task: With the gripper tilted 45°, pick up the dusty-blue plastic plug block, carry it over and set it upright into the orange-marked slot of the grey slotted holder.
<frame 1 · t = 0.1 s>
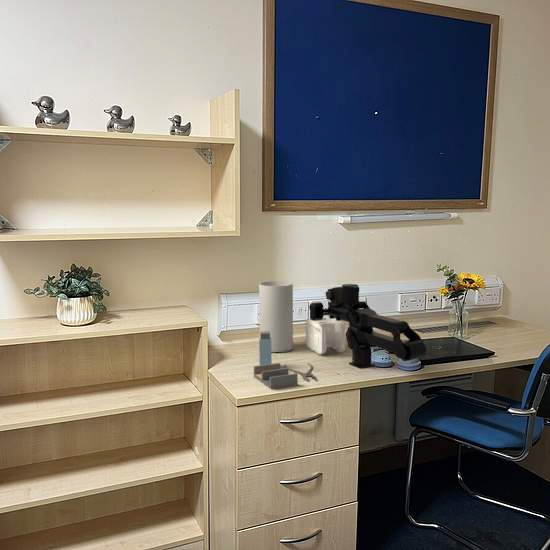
hand: (319, 305, 231), 17 cm above the table, tool horizontal, fingers open, 9 cm apart
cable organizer: (325, 351, 230), on the table
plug: (265, 366, 210), on the table
grey slotted holder: (275, 380, 195), on the table
pliers: (307, 373, 204), on the table
cylinder vase: (276, 349, 234), on the table
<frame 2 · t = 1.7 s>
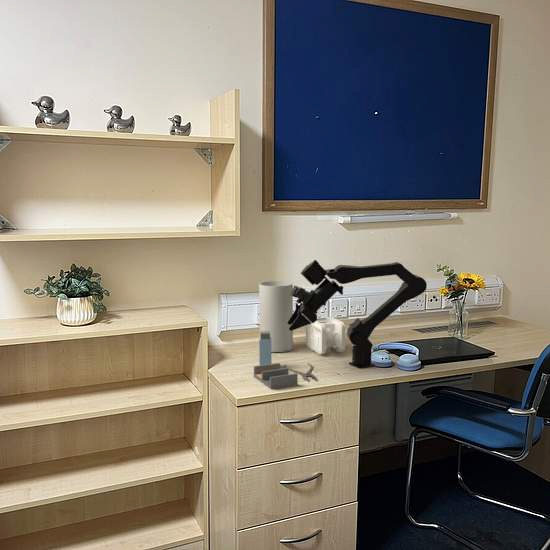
hand: (288, 326, 209), 14 cm above the table, tool tilted 45°, fingers open, 9 cm apart
nothing on the table moved.
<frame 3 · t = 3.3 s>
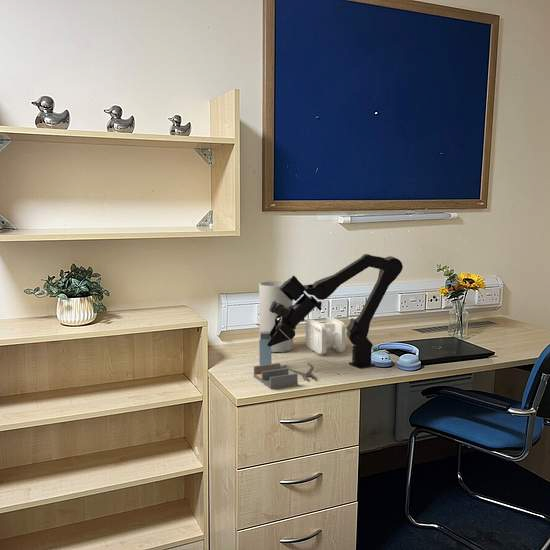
hand: (267, 342, 209), 9 cm above the table, tool tilted 45°, fingers open, 9 cm apart
nothing on the table moved.
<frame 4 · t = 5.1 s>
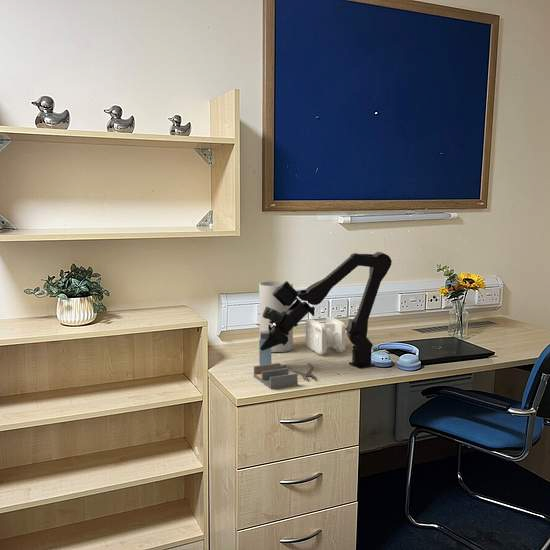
hand: (261, 348, 209), 7 cm above the table, tool tilted 45°, fingers closed on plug, 4 cm apart
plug: (265, 366, 210), on the table, touching gripper
everything else where it was.
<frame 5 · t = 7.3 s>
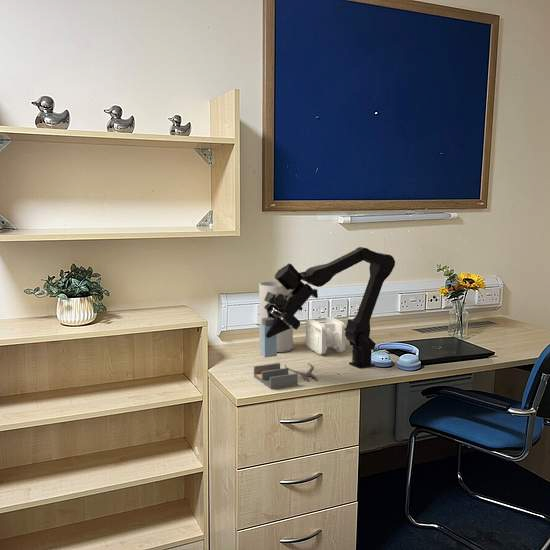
hand: (264, 335, 197), 14 cm above the table, tool tilted 45°, fingers closed on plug, 4 cm apart
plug: (268, 355, 199), point 7 cm above the table, touching gripper
everything else where it was.
when the fingers open (8 cm above the table, at t = 9.4 s): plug stays where it is, resting on grey slotted holder.
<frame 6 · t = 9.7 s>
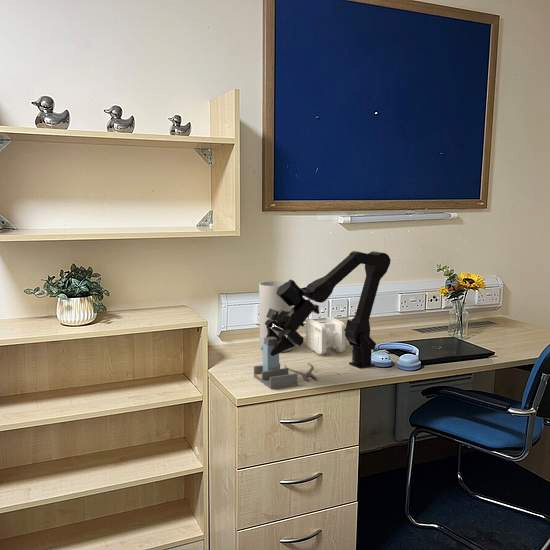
hand: (266, 352, 196), 9 cm above the table, tool tilted 45°, fingers open, 7 cm apart
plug: (270, 374, 197), point 1 cm above the table, touching grey slotted holder
everything else where it was.
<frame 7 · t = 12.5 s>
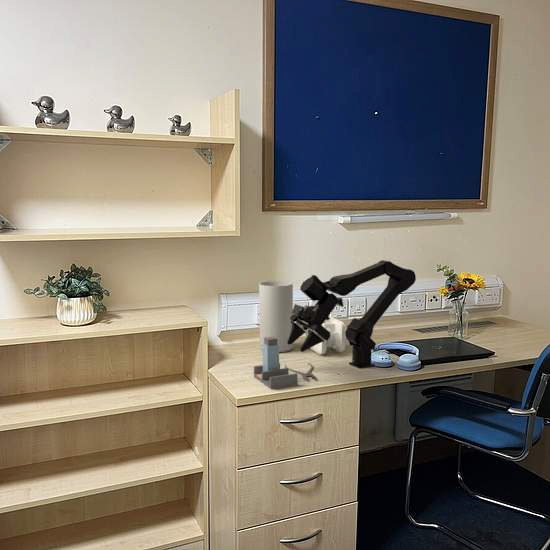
hand: (294, 347, 200), 9 cm above the table, tool tilted 40°, fingers open, 9 cm apart
nothing on the table moved.
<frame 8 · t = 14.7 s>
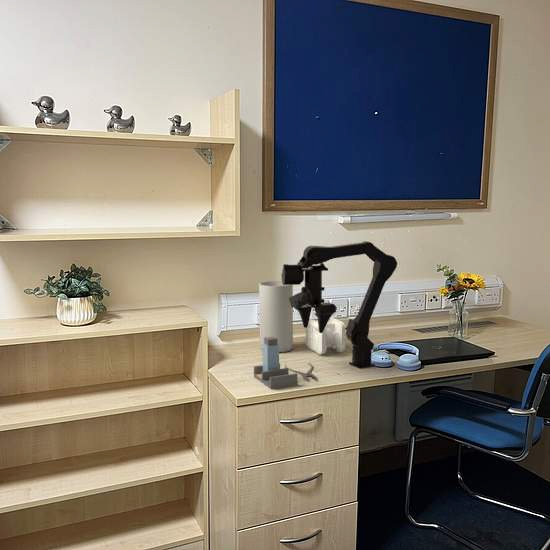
hand: (313, 330, 207), 13 cm above the table, tool pointing down, fingers open, 9 cm apart
nothing on the table moved.
at the end: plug 0.0 cm from the target spot on the grey slotted holder, point 1.1 cm above the grey slotted holder's base; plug tilted 0°; the gripper is holding nothing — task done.
